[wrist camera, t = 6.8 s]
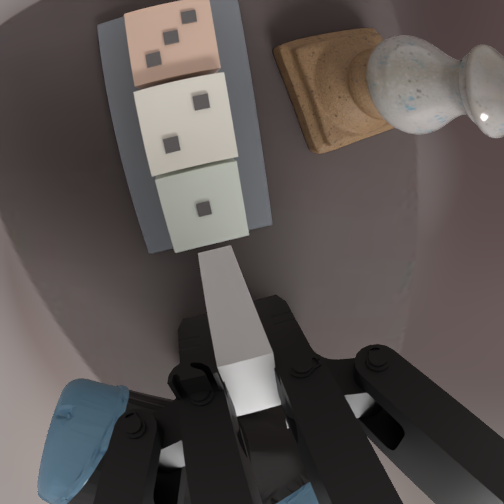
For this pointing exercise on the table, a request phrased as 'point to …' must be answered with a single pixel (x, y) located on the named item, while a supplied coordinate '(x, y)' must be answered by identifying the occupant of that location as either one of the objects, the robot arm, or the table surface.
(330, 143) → the candle holder
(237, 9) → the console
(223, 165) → the one pip key
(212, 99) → the two pip key
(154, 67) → the three pip key
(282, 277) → the table surface
